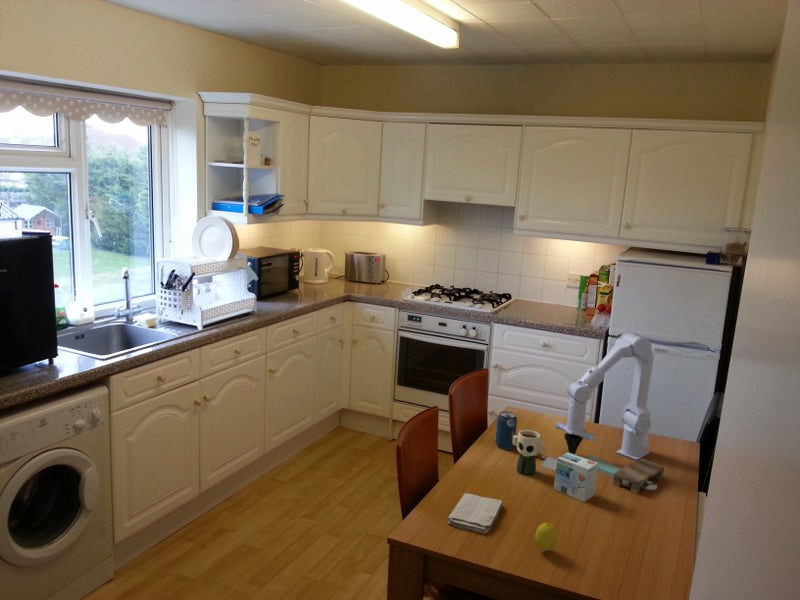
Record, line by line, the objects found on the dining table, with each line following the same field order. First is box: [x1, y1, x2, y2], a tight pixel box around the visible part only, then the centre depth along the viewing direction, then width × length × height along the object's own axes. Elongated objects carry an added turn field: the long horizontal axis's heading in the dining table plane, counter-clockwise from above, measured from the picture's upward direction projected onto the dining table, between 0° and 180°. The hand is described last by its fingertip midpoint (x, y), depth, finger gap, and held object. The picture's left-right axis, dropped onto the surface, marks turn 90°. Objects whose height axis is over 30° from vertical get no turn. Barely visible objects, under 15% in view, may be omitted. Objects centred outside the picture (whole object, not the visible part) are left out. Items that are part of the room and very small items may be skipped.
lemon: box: [534, 522, 558, 553], centre depth 169 cm, size 6×6×8 cm
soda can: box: [495, 410, 518, 450], centre depth 234 cm, size 7×7×12 cm
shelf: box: [612, 457, 665, 495], centre depth 212 cm, size 18×8×4 cm, turn 134°
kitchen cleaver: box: [535, 453, 558, 471], centre depth 222 cm, size 24×1×10 cm
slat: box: [585, 455, 632, 484], centre depth 219 cm, size 6×18×2 cm, turn 41°
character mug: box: [513, 429, 546, 475], centre depth 214 cm, size 11×7×13 cm, turn 59°
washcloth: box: [447, 492, 503, 535], centre depth 185 cm, size 12×18×3 cm, turn 159°
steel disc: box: [640, 480, 658, 492], centre depth 209 cm, size 5×5×1 cm
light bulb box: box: [553, 451, 598, 503], centre depth 202 cm, size 11×7×11 cm, turn 47°
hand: (572, 454), depth 229 cm, fingers closed
